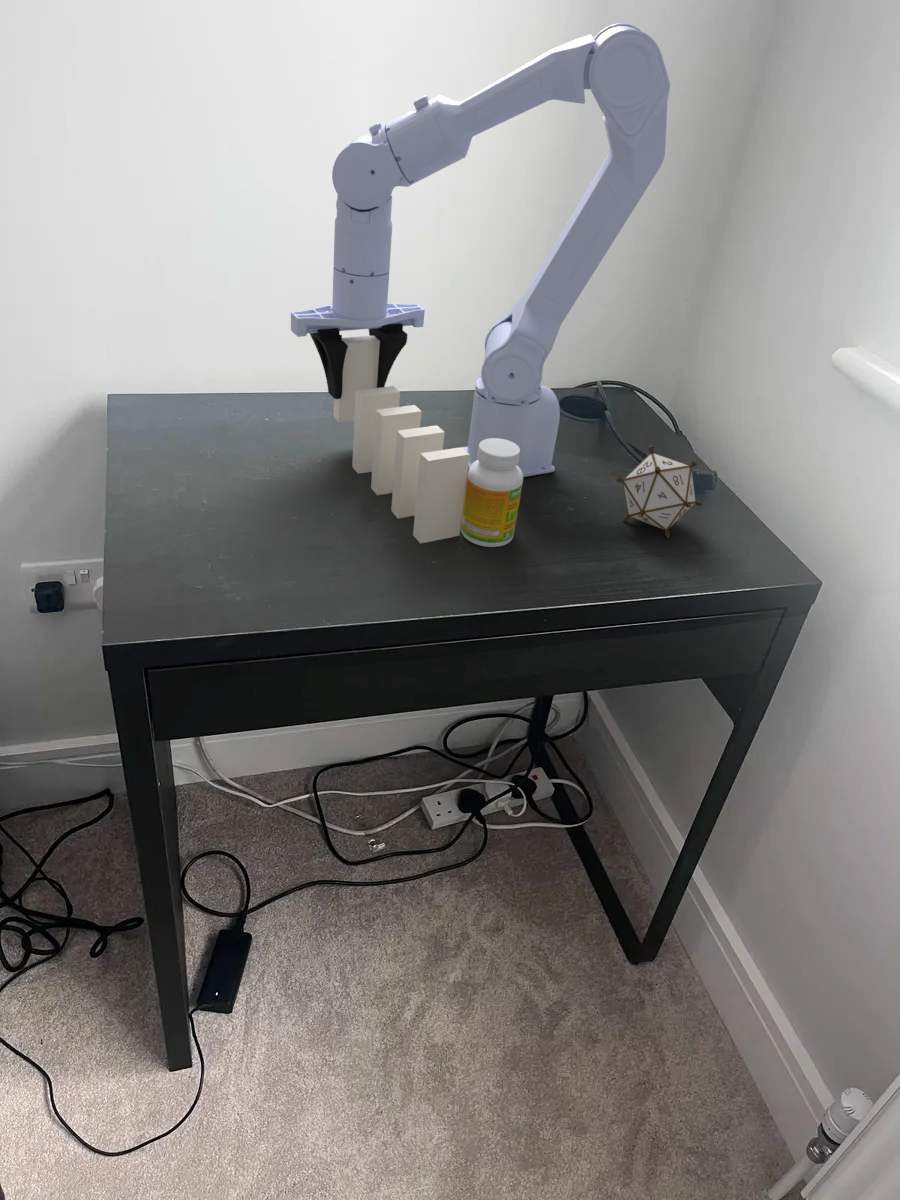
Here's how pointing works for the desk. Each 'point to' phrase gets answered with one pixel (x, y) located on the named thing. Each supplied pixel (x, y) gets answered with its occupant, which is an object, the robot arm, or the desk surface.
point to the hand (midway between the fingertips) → (355, 393)
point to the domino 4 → (411, 465)
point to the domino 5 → (440, 494)
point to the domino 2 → (369, 423)
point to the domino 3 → (389, 443)
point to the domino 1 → (357, 374)
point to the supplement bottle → (492, 494)
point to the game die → (659, 491)
